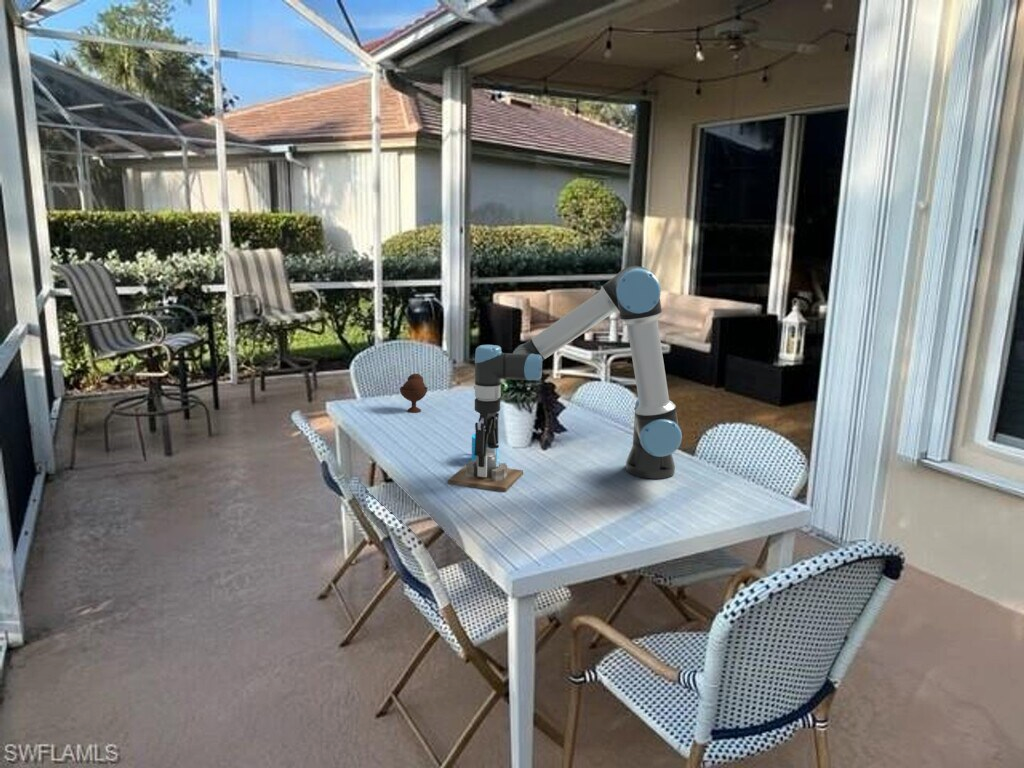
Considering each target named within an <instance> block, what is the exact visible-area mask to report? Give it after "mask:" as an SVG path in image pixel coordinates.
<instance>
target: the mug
mask: <svg viewBox="0 0 1024 768" xmlns="http://www.w3.org/2000/svg"><path fill="white" fill-rule="evenodd" d="M496 445H498V444H496ZM487 448H489V447H488V444H487ZM495 449H496V463H497V460H498V448H495ZM474 453H475V433H474V434H472V435H471V461H473V460H476V456H475V455H474Z"/></svg>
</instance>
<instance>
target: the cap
mask: <svg viewBox="0 0 1024 768" xmlns="http://www.w3.org/2000/svg"><path fill="white" fill-rule="evenodd" d="M486 456H487V477H480V478H491V477H492V470H493V469H496V467H497V462H496V455H495V454H494V453H491V452H486ZM477 475H478V456H476V476H477ZM477 477H479V476H477Z"/></svg>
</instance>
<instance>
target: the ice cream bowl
mask: <svg viewBox="0 0 1024 768" xmlns="http://www.w3.org/2000/svg"><path fill="white" fill-rule="evenodd" d="M428 389H429V387H428V386H426V384H425V383H424V378H423V376H422V375H421V374H420V373H419V374H418V373H412V374H410V375H409V376H408V377H407V381H405V382H404V383H403V385H402V386H401V387H400V388H399V391H400V394H401V396H402V397H403V398H404V399H406V400H407V401H409V402H411V406H410V407H409V408H408V409H407V411H406V412H408V413H411V414H416V413H421V411H422V409H420V408H419V407H417V402H418V401H419V402H420V401H421V400H423V398H424V397H425V396H426V394H427V392H428Z"/></svg>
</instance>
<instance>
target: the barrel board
mask: <svg viewBox="0 0 1024 768" xmlns="http://www.w3.org/2000/svg"><path fill="white" fill-rule="evenodd" d="M523 475H524V470H523V469H516V468H509V467H508V465H507V463H505V462H503V463H502V462H499V463H498V466H496V469H493V470H492V477H491V478H480V477H477V476H476V460H473V461H472V460H470V461H468V462H467V463H466V464H465V465H464V466H463V467H462V468H460V469H459V470H457V472H456V473H454V474H453V475H452V476H451V477H449V478H448V479H447V484H450V485H457V486H463V487H470V488H477V489H485V490H490V491H498V492H503V493H504V492H505V493H507V491H509V490H510V488H511V487H513V485H514V484H515V483H516V482H517V481H518V480H519V479H520V478H521V477H522V476H523Z"/></svg>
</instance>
